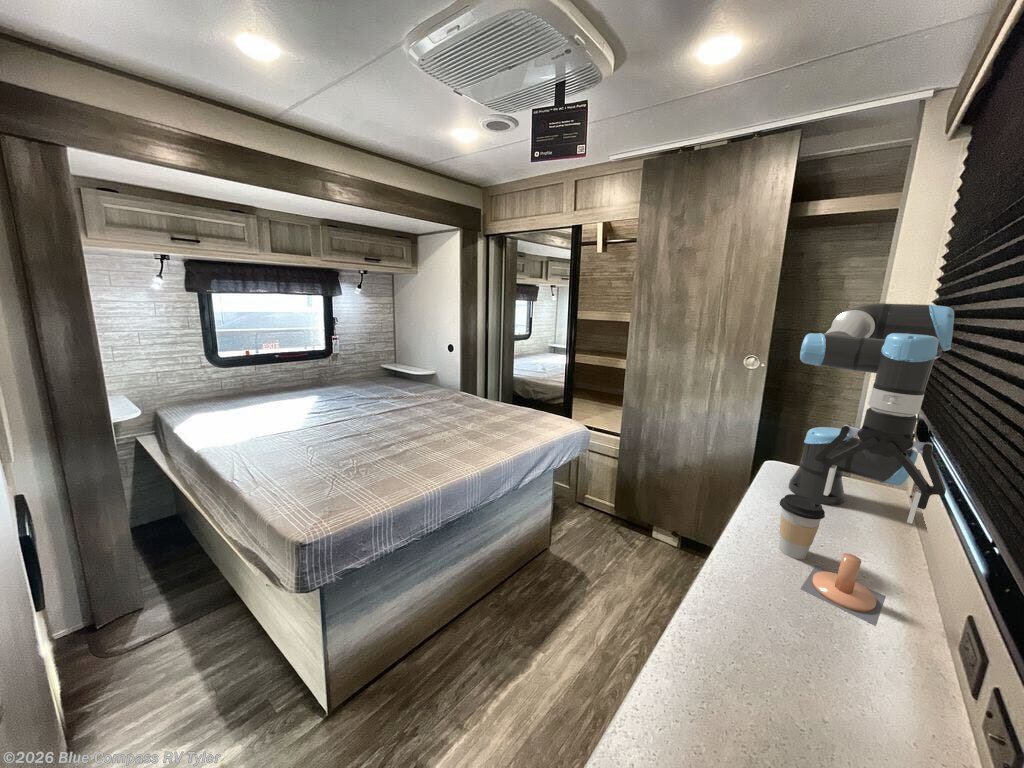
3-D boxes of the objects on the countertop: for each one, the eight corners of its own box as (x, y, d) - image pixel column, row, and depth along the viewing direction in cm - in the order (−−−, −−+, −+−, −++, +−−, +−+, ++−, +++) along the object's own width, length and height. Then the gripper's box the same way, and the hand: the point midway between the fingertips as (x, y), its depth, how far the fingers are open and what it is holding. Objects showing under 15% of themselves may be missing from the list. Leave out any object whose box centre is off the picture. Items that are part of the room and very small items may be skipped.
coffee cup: (821, 568, 99) (834, 514, 95) (779, 562, 101) (791, 509, 97) (802, 545, 108) (814, 495, 104) (764, 539, 110) (774, 490, 106)
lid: (819, 568, 98) (827, 536, 96) (879, 595, 90) (889, 560, 88) (805, 589, 91) (814, 555, 89) (870, 620, 83) (881, 583, 80)
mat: (815, 567, 99) (815, 565, 99) (884, 598, 90) (885, 595, 90) (799, 591, 91) (800, 588, 91) (874, 628, 81) (875, 625, 81)
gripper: (812, 399, 87) (792, 488, 92) (986, 432, 69) (950, 541, 73) (821, 394, 92) (801, 479, 96) (986, 424, 73) (952, 527, 78)
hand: (865, 506), depth 85 cm, fingers open, 13 cm apart
